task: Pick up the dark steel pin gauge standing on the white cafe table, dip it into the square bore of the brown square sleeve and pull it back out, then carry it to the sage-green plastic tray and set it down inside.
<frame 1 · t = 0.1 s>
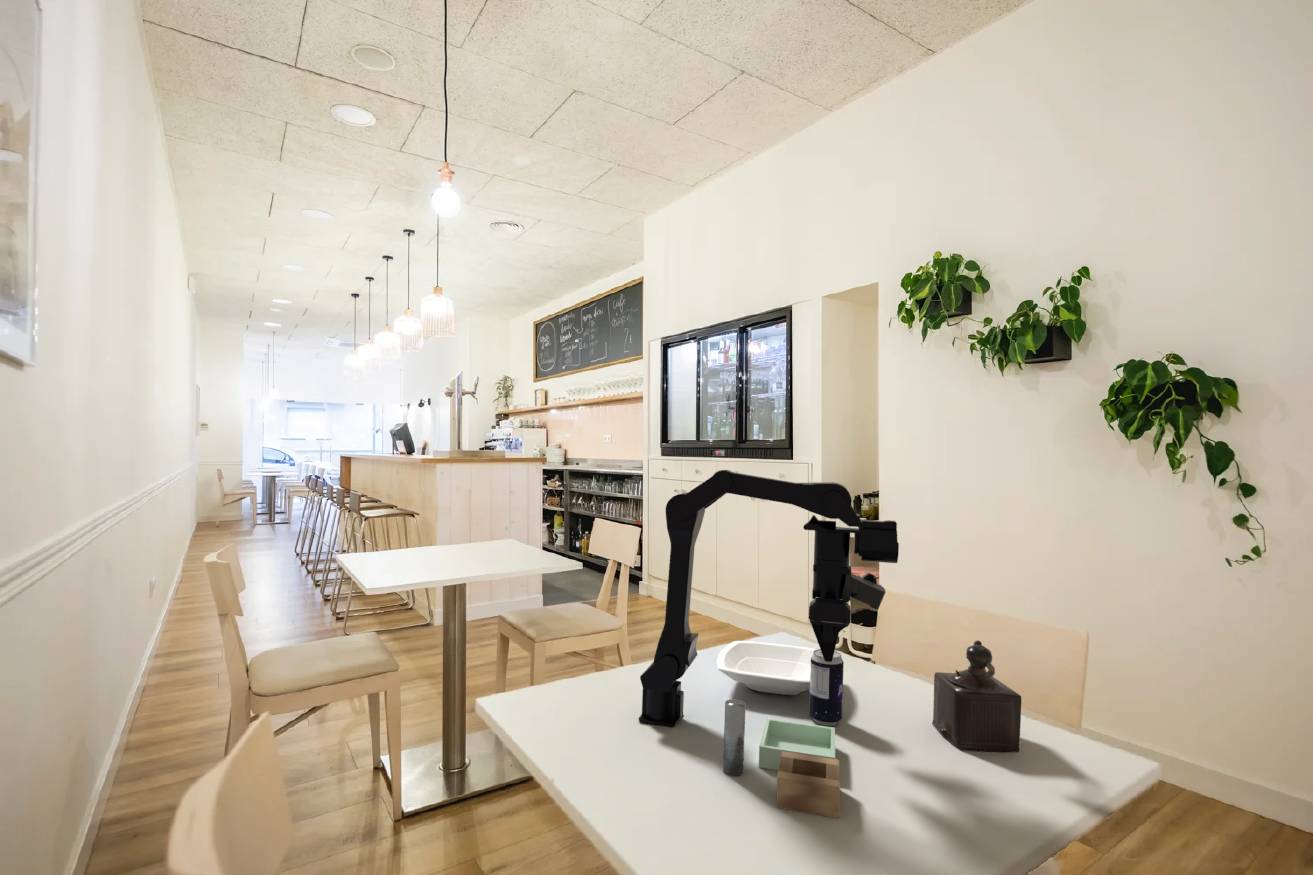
hand: (828, 653, 108), 15 cm above the table, fingers open, 9 cm apart
brown square sleeve: (808, 797, 90), on the table
bowl: (775, 688, 132), on the table
tray: (797, 756, 102), on the table
pin gauge: (733, 771, 96), on the table
dark brown ornamental box: (979, 745, 109), on the table
beverage can: (825, 721, 116), on the table
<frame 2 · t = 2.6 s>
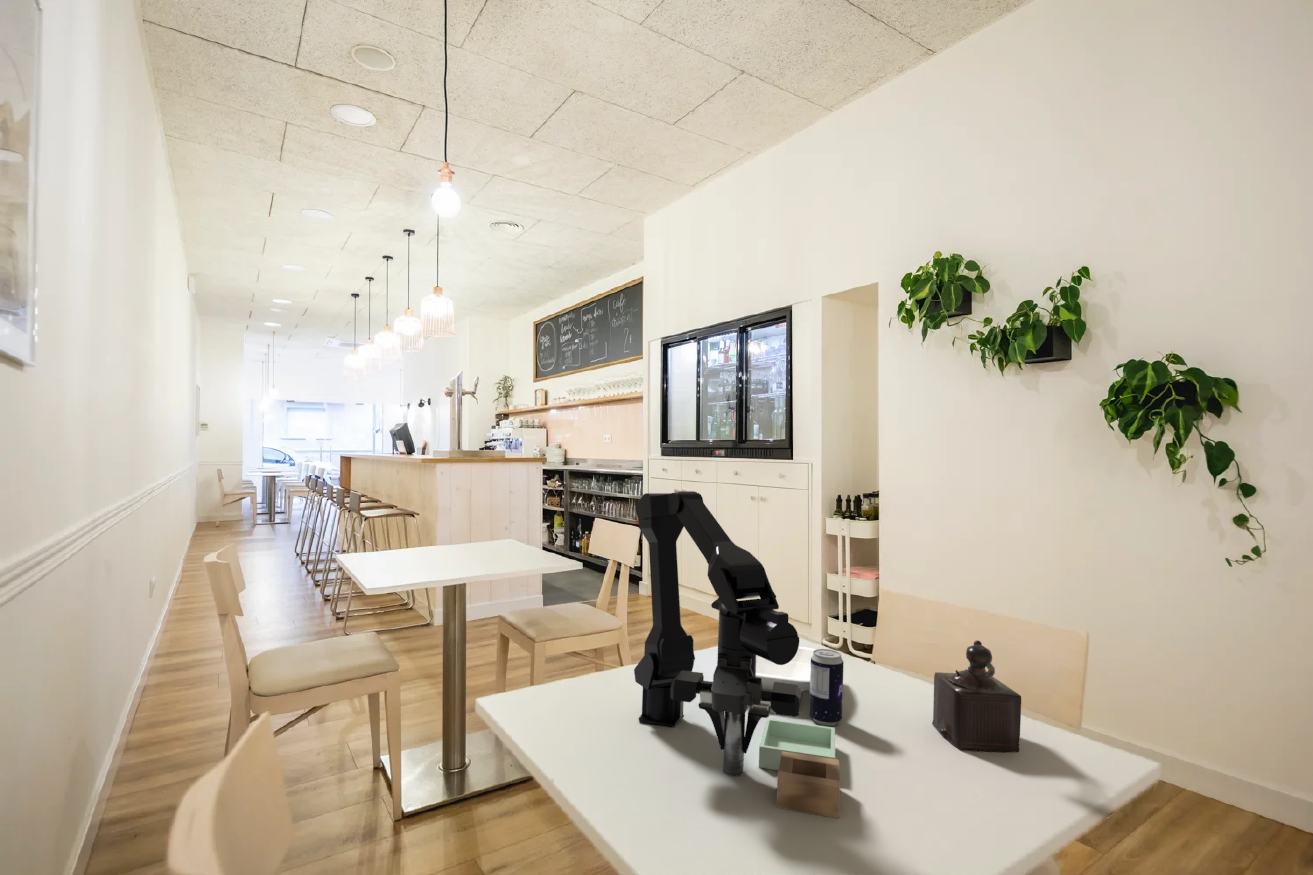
hand: (733, 750, 96), 3 cm above the table, fingers closed on pin gauge, 3 cm apart
pin gauge: (733, 771, 96), on the table, touching gripper
everything else where it was.
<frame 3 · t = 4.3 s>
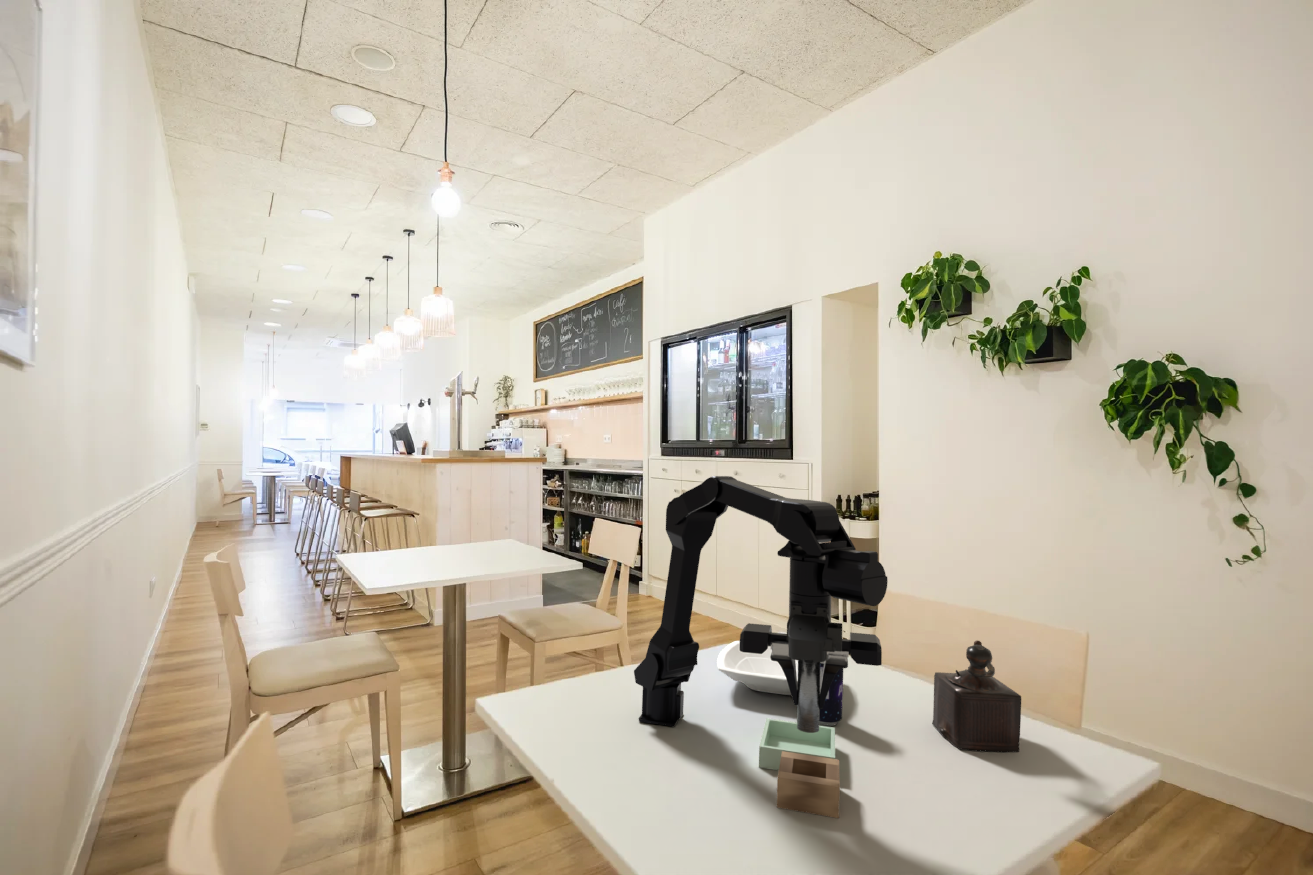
hand: (808, 706, 90), 12 cm above the table, fingers closed on pin gauge, 3 cm apart
pin gauge: (807, 728, 90), point 9 cm above the table, touching gripper
everything else where it was.
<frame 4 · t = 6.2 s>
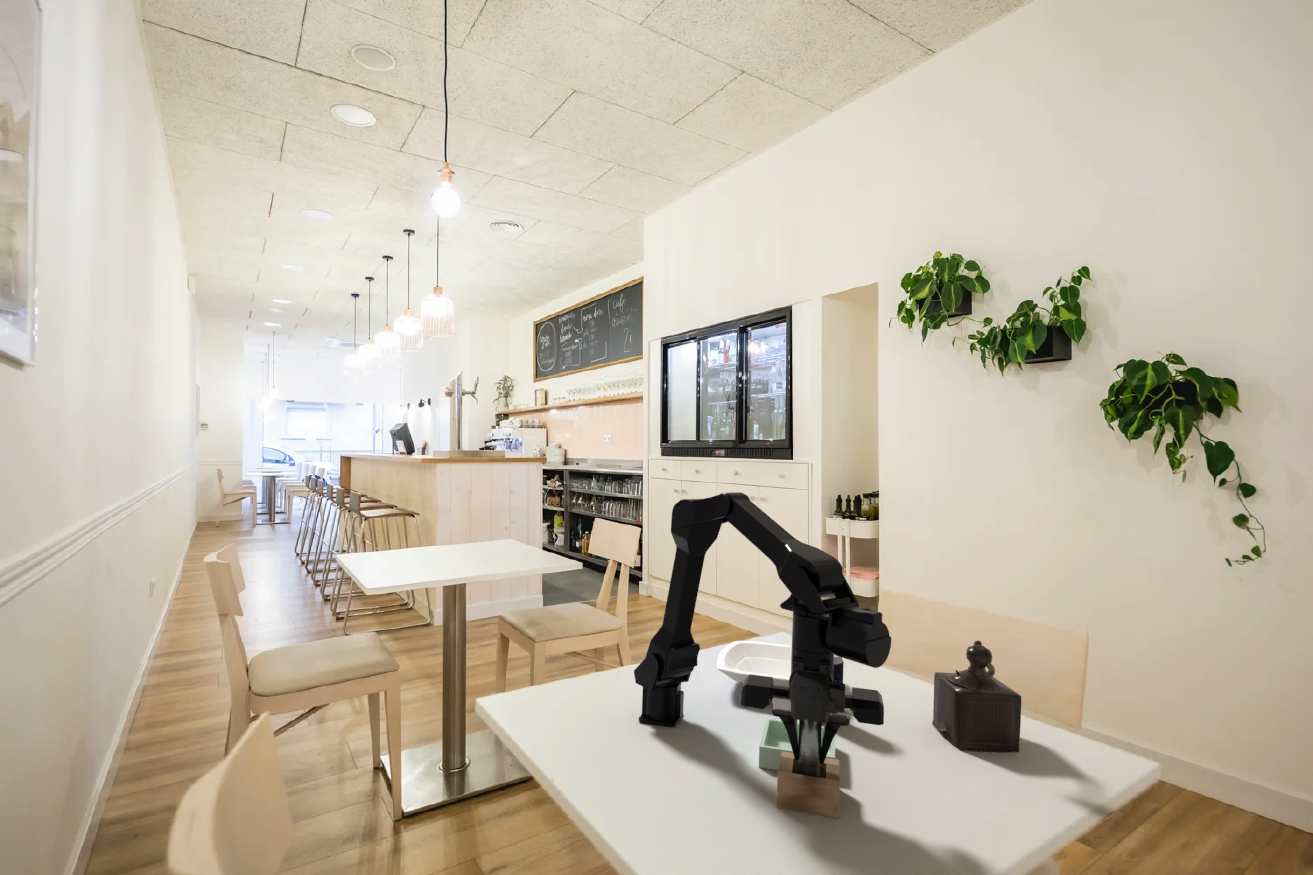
hand: (809, 760, 90), 5 cm above the table, fingers closed on pin gauge, 3 cm apart
pin gauge: (808, 782, 90), point 2 cm above the table, touching gripper
everything else where it was.
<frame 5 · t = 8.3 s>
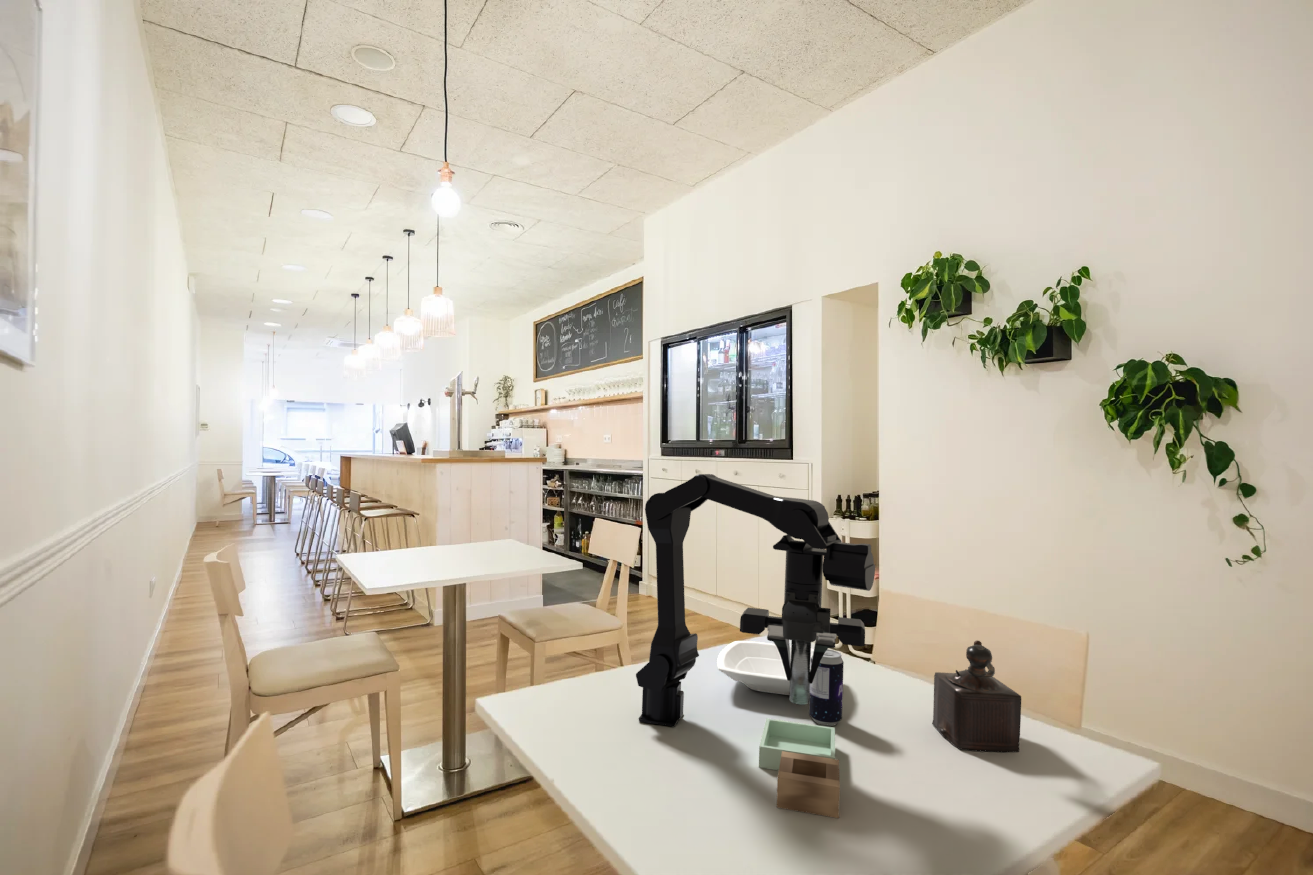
hand: (799, 681, 102), 12 cm above the table, fingers closed on pin gauge, 3 cm apart
pin gauge: (799, 700, 102), point 9 cm above the table, touching gripper
everything else where it was.
when the fingers open (5 cm above the table, at t = 9.8 s): pin gauge drops 1 cm, resting on tray.
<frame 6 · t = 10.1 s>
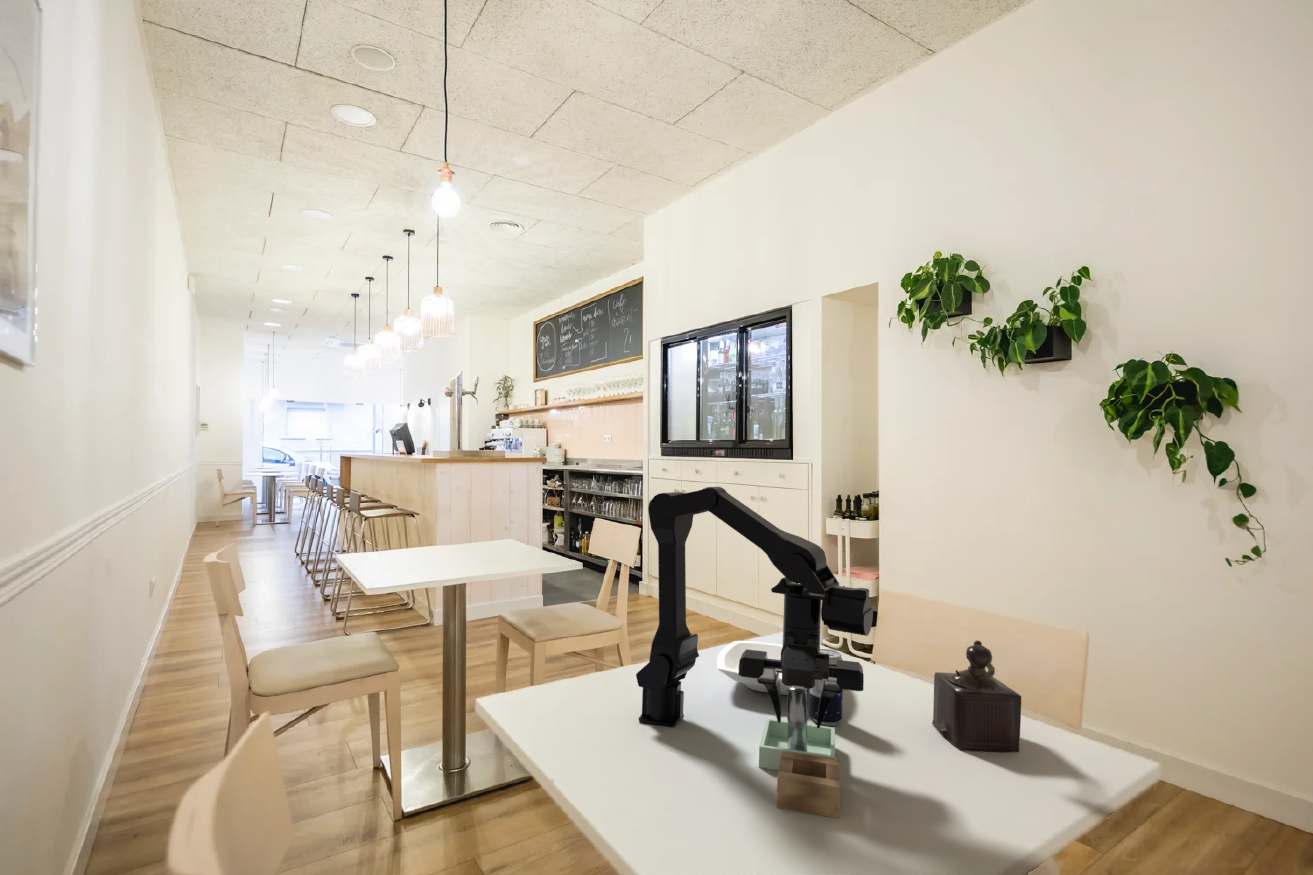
hand: (798, 724, 102), 5 cm above the table, fingers open, 6 cm apart
pin gauge: (797, 752, 102), point 1 cm above the table, touching tray
everything else where it was.
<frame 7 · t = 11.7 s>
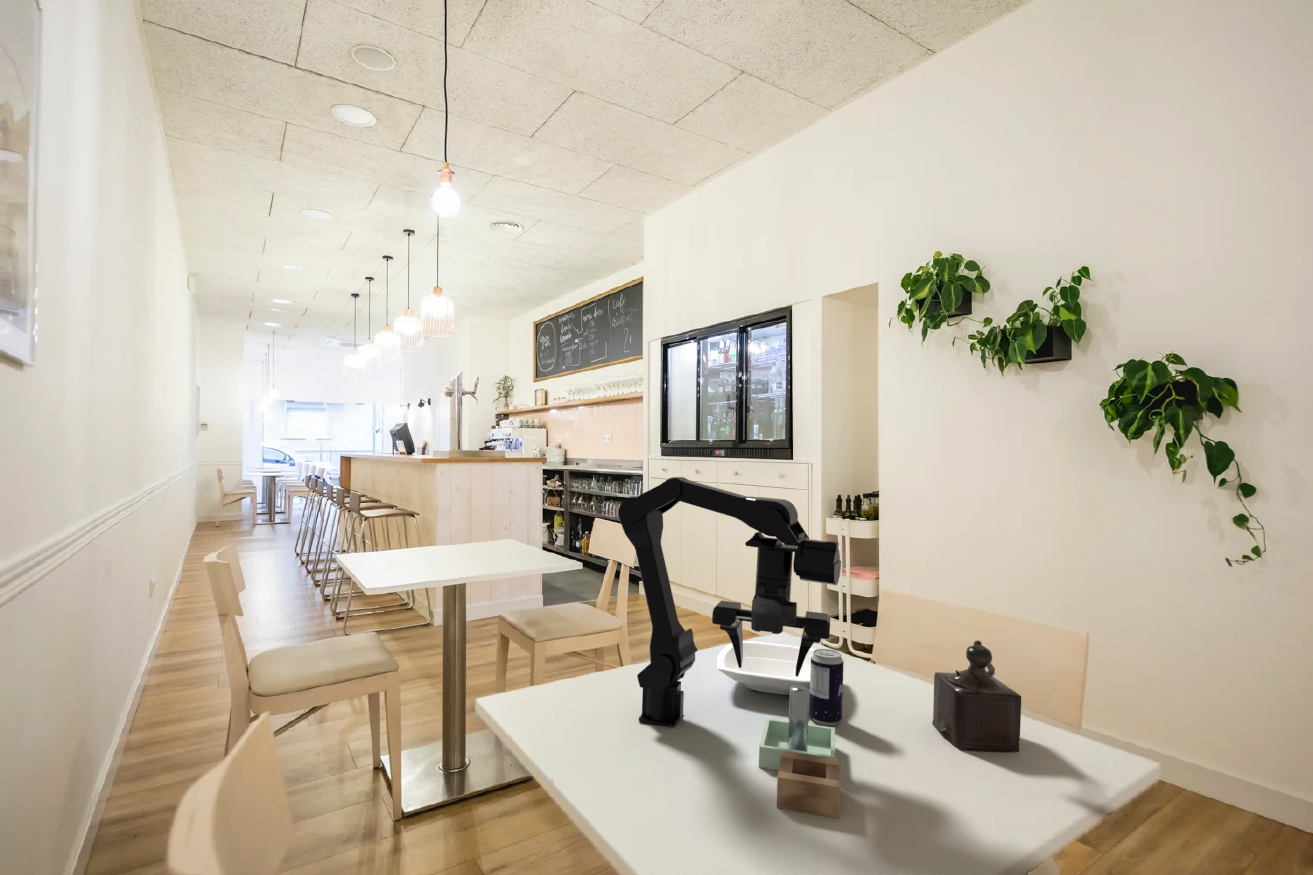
hand: (768, 671, 107), 12 cm above the table, fingers open, 9 cm apart
nothing on the table moved.
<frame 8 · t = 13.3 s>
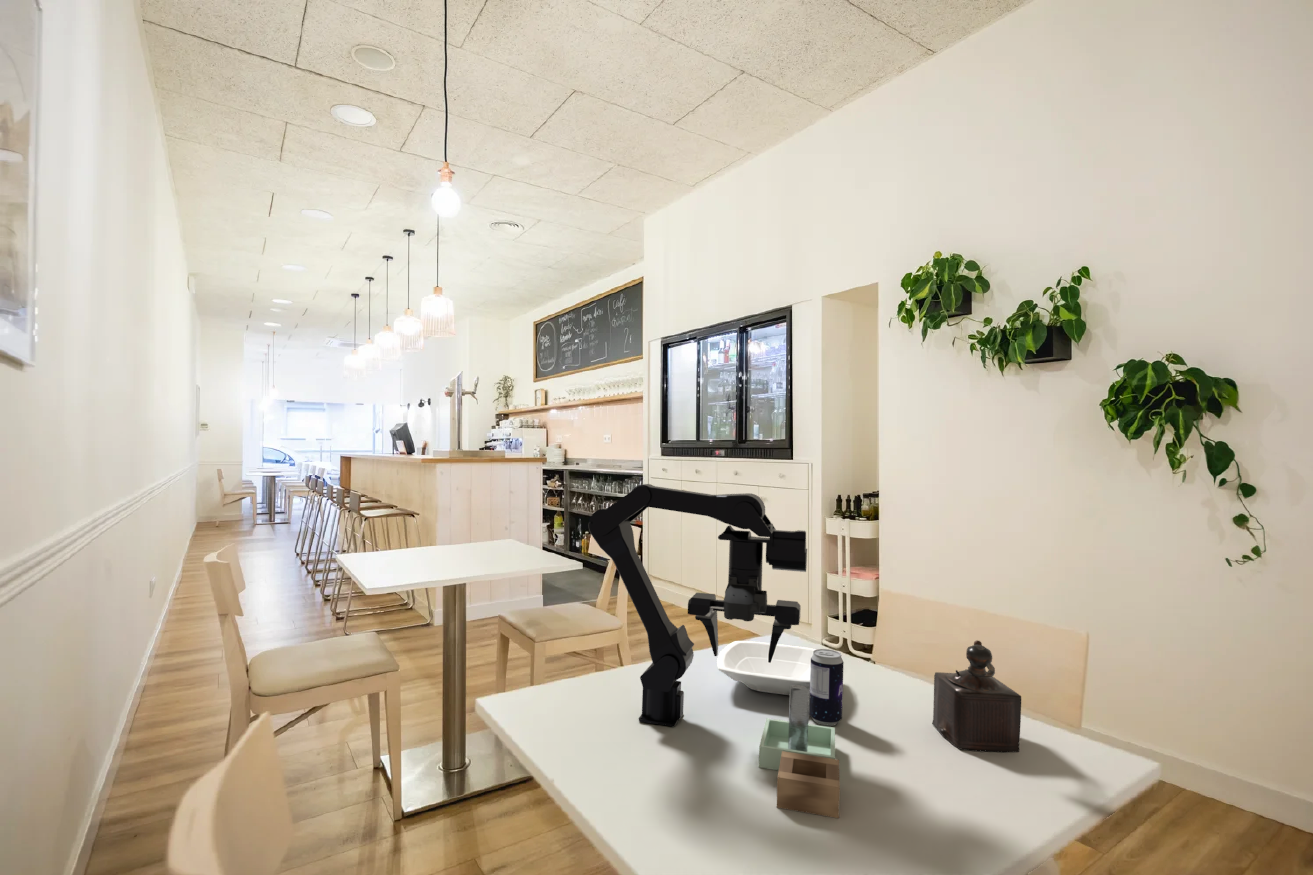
hand: (742, 658, 111), 12 cm above the table, fingers open, 9 cm apart
nothing on the table moved.
at the end: pin gauge inside the target area on the tray (0.1 cm from its centre), point 0.6 cm above the tray's base; the gripper is holding nothing; pin gauge moved 12.0 cm from its start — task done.
